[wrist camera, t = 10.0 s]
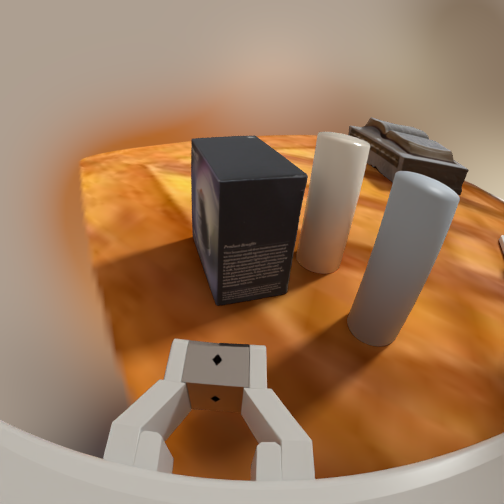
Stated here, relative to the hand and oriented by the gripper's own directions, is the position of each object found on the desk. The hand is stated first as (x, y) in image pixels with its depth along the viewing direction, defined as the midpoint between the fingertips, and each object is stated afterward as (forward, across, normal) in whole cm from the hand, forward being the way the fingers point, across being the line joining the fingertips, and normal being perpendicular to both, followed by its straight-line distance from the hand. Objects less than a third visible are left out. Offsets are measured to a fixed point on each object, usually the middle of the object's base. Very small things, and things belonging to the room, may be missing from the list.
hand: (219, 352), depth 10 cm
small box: (+16, 0, +9) cm, 19 cm away
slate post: (+9, -11, +9) cm, 17 cm away
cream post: (+18, -8, +9) cm, 22 cm away
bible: (+57, -35, +10) cm, 67 cm away
